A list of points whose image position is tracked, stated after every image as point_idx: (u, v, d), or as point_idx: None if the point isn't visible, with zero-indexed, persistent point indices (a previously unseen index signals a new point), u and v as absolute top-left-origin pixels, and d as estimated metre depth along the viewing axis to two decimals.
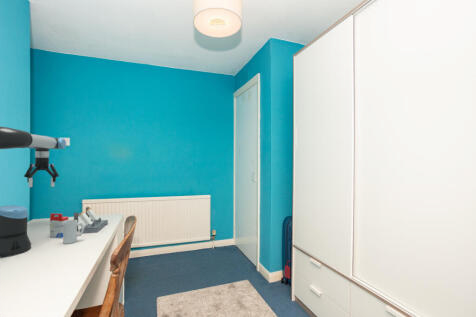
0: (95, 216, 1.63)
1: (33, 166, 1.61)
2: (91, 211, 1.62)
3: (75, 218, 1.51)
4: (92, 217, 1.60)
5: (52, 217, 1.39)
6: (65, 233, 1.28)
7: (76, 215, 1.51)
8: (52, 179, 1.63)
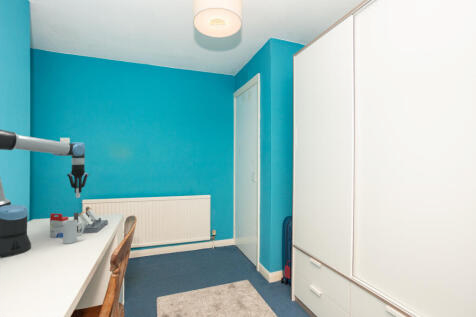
0: (95, 216, 1.63)
1: (71, 175, 1.59)
2: (91, 211, 1.62)
3: (75, 218, 1.51)
4: (92, 217, 1.60)
5: (52, 217, 1.39)
6: (65, 233, 1.28)
7: (76, 215, 1.51)
8: (78, 190, 1.59)
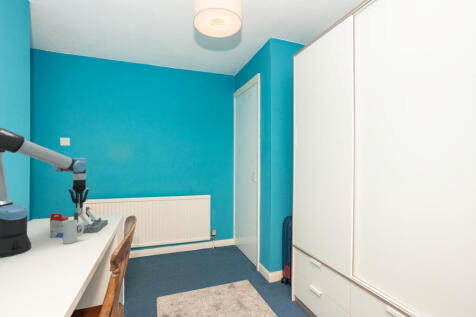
0: (95, 216, 1.63)
1: (72, 190, 1.59)
2: (91, 211, 1.62)
3: (75, 218, 1.51)
4: (92, 217, 1.60)
5: (52, 217, 1.39)
6: (65, 233, 1.28)
7: (76, 215, 1.51)
8: (79, 205, 1.59)
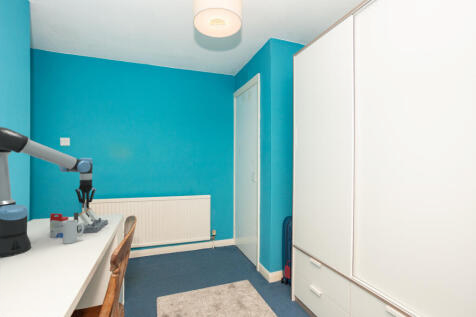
0: (95, 216, 1.63)
1: (79, 190, 1.60)
2: (91, 211, 1.62)
3: (75, 218, 1.51)
4: (92, 217, 1.60)
5: (52, 217, 1.39)
6: (65, 233, 1.28)
7: (76, 215, 1.51)
8: (86, 205, 1.60)
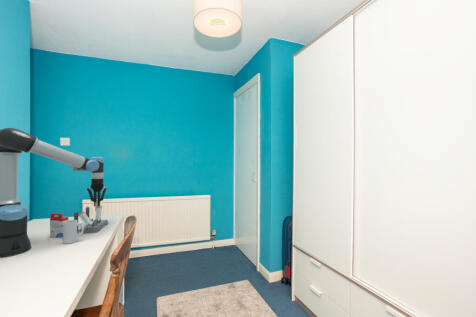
0: (99, 216, 1.63)
1: (90, 189, 1.62)
2: (100, 210, 1.63)
3: (75, 218, 1.51)
4: (97, 216, 1.61)
5: (52, 217, 1.39)
6: (65, 233, 1.28)
7: (76, 215, 1.51)
8: (97, 203, 1.62)
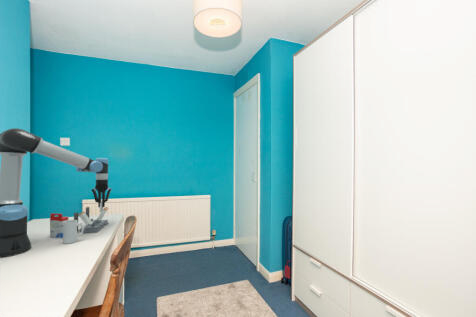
0: (102, 217, 1.63)
1: (95, 189, 1.62)
2: (105, 212, 1.64)
3: (75, 218, 1.51)
4: (100, 216, 1.61)
5: (52, 217, 1.39)
6: (65, 233, 1.28)
7: (76, 215, 1.51)
8: (102, 204, 1.63)
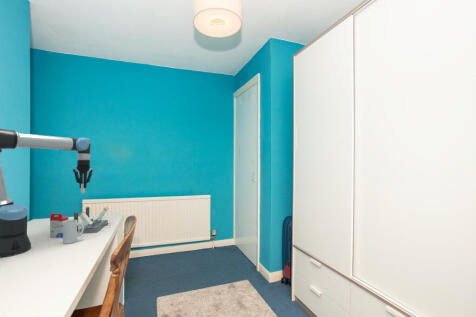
0: (102, 217, 1.63)
1: (76, 170, 1.59)
2: (105, 212, 1.64)
3: (75, 218, 1.51)
4: (100, 216, 1.61)
5: (52, 217, 1.39)
6: (65, 233, 1.28)
7: (76, 215, 1.51)
8: (83, 185, 1.59)
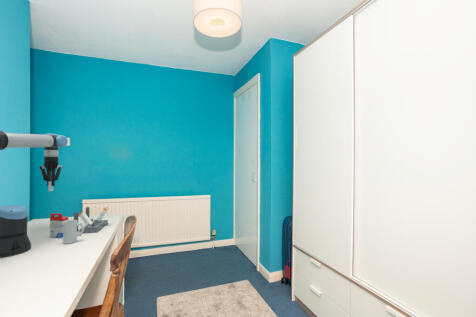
0: (102, 217, 1.63)
1: (43, 167, 1.53)
2: (105, 212, 1.64)
3: (75, 218, 1.51)
4: (100, 216, 1.61)
5: (52, 217, 1.39)
6: (65, 233, 1.28)
7: (76, 215, 1.51)
8: (51, 183, 1.53)
